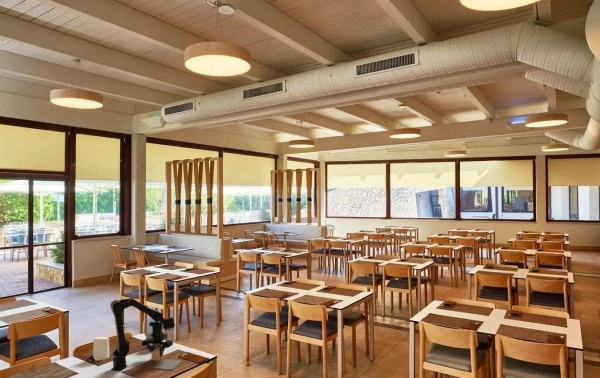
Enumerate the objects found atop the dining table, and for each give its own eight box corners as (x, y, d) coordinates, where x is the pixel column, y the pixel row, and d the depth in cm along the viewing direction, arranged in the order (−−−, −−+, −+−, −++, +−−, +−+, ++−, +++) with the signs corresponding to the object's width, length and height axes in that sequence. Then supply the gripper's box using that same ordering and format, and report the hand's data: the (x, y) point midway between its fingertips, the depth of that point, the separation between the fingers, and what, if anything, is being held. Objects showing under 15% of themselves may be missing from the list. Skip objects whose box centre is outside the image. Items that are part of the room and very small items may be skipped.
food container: (145, 350, 263) (144, 335, 263) (145, 347, 269) (144, 332, 269) (165, 347, 268) (164, 332, 268) (164, 344, 273) (164, 329, 273)
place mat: (153, 368, 237) (153, 367, 237) (165, 360, 248) (165, 359, 248) (171, 370, 234) (171, 369, 234) (182, 361, 245) (182, 360, 245)
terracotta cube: (151, 359, 249) (151, 351, 249) (156, 356, 254) (156, 348, 254) (158, 360, 248) (158, 352, 248) (163, 357, 253) (163, 349, 253)
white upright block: (112, 354, 258) (111, 335, 258) (104, 360, 249) (103, 341, 249) (98, 354, 259) (98, 335, 259) (90, 360, 250) (89, 340, 250)
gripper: (177, 328, 256) (178, 352, 256) (151, 326, 261) (152, 350, 261) (167, 334, 245) (168, 360, 245) (140, 332, 250) (141, 357, 250)
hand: (157, 356), depth 251 cm, fingers closed on terracotta cube, 5 cm apart
